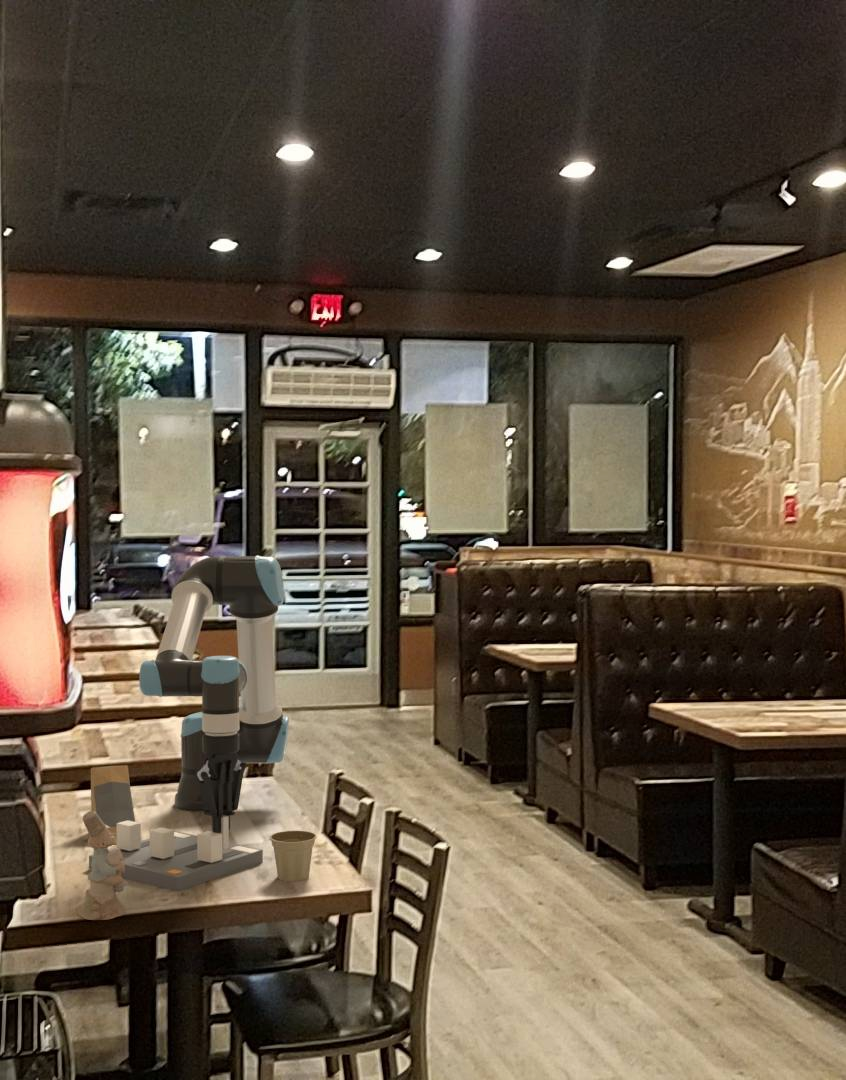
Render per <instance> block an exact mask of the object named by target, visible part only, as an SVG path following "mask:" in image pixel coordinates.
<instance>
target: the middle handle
mask: <svg viewBox="0 0 846 1080" xmlns="http://www.w3.org/2000/svg"><path fill="white" fill-rule="evenodd" d="M174 831H175V830H174V829H171V828H164V827H157V828H154V829H150V830H149V838H150V856H153V857H157V858H161V859H165V858H168V857H171V856H174Z"/></svg>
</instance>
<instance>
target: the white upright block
mask: <svg viewBox="0 0 846 1080" xmlns="http://www.w3.org/2000/svg"><path fill="white" fill-rule="evenodd" d="M196 836H197V860H201V861H205V862H210V863H213V862H216V861H219V860H222V834H220V833H215V832H213V831H210V830H207V831H203V832H199V833H196Z"/></svg>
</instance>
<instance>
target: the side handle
mask: <svg viewBox="0 0 846 1080" xmlns="http://www.w3.org/2000/svg"><path fill="white" fill-rule="evenodd" d="M141 827H142V825H141V822H137V821H135V822H133V821H128V820H127V821H123V822H120V823H117V846H116V848H120V849H123V850H127V851H132V850H135V849H139V848H141V841H142V839H141V838H142V829H141Z"/></svg>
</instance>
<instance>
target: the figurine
mask: <svg viewBox="0 0 846 1080" xmlns="http://www.w3.org/2000/svg"><path fill="white" fill-rule="evenodd" d="M82 822H83V823H84V827H85V829H86V830H87V832H88V834H89V835H88V836H89V838H88V840H87V844H88V846H89V847H90V849H93V853H92V855H93V858H92V863H91V866H92V870H91V871H90V872H89V873H88V874H87V880H88V881H89V884H90V886H89V889H86V890H85V897H84V903H83V904H82V906H80V909H79V910H78V911H77V915H78V916H79V917H80V918H83V919H85V920H87V921H88V920H91V921H105V920H111V919H115V918H117V917H122V916H123V915H125V914H126V909H125V906H124V904H123V903H122V902H121V901H120V900H119V899H118V895H117V892H118V893H121V892H124V888H125V887H127V886H128V885H129V882H128V881H127V879H124V878H122V877H121V873H123V872H125V865H124V861H125V859H124V858H123V856H122V852H121V850H120V848H118V849H116V850H113V851H110V852H109V851H108V850H109V847H113V846H112V845H114V844H116V837H115V833H110V829H111V828H110V827H109V826H107V825H106V824H104V823H103V822H102V820H101V819H100V817H99V816H98V814H97V813H96V812H95V811H91V810H89V811H87V812H86V813H84V814H83V817H82Z"/></svg>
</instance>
